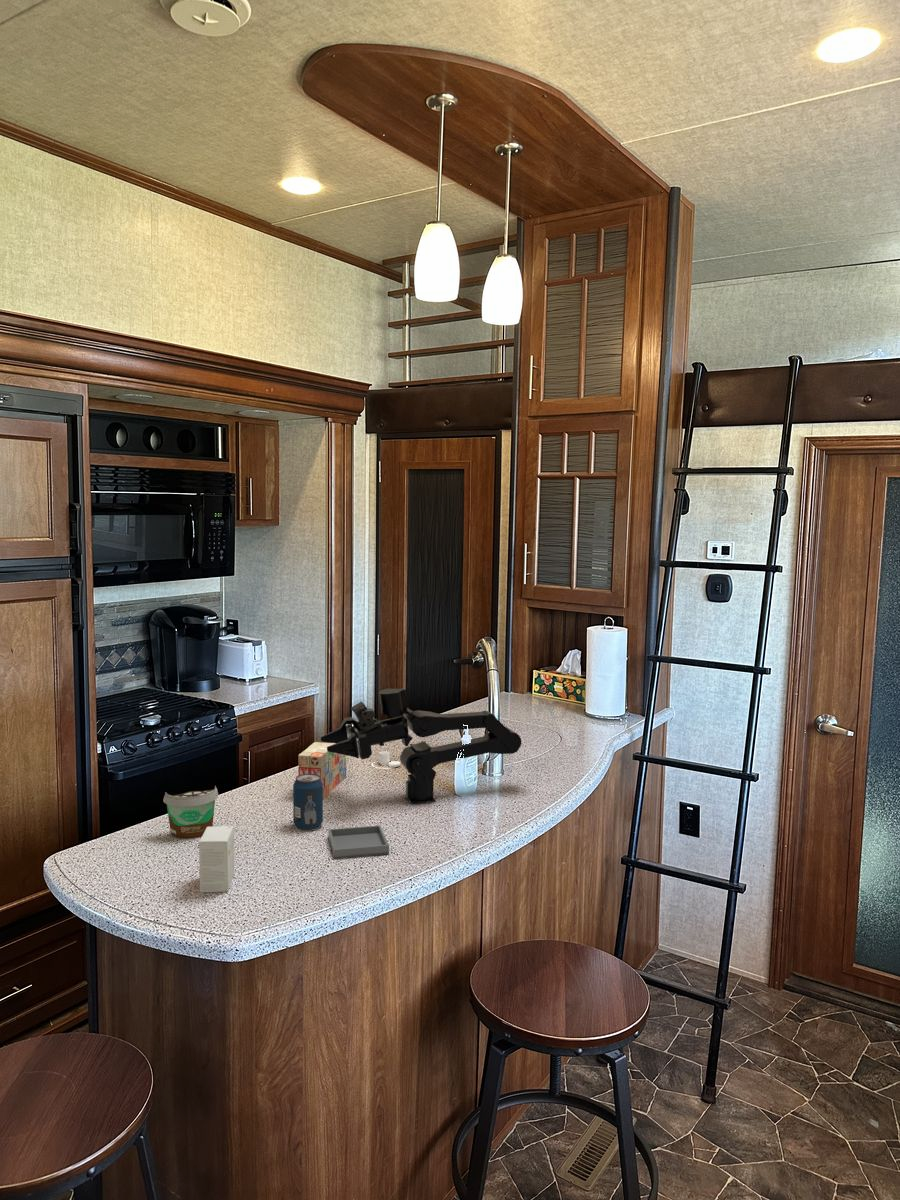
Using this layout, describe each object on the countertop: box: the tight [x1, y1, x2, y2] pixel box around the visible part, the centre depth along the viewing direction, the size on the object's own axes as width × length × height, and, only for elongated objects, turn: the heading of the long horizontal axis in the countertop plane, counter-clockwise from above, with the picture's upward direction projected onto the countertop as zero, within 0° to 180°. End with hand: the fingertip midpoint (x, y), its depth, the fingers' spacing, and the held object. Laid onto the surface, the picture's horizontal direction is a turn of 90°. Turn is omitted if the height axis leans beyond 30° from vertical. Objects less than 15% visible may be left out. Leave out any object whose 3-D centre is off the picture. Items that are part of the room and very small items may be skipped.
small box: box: [198, 825, 236, 893], centre depth 166 cm, size 8×6×10 cm
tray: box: [327, 824, 390, 860], centre depth 187 cm, size 12×12×2 cm
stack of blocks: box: [297, 741, 347, 800], centre depth 225 cm, size 21×6×12 cm, turn 169°
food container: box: [163, 785, 219, 840], centre depth 191 cm, size 12×6×10 cm, turn 117°
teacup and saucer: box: [370, 751, 402, 770], centre depth 246 cm, size 9×8×4 cm
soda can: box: [292, 774, 324, 832], centre depth 197 cm, size 7×7×12 cm
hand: (323, 744), depth 208 cm, fingers open, 9 cm apart
